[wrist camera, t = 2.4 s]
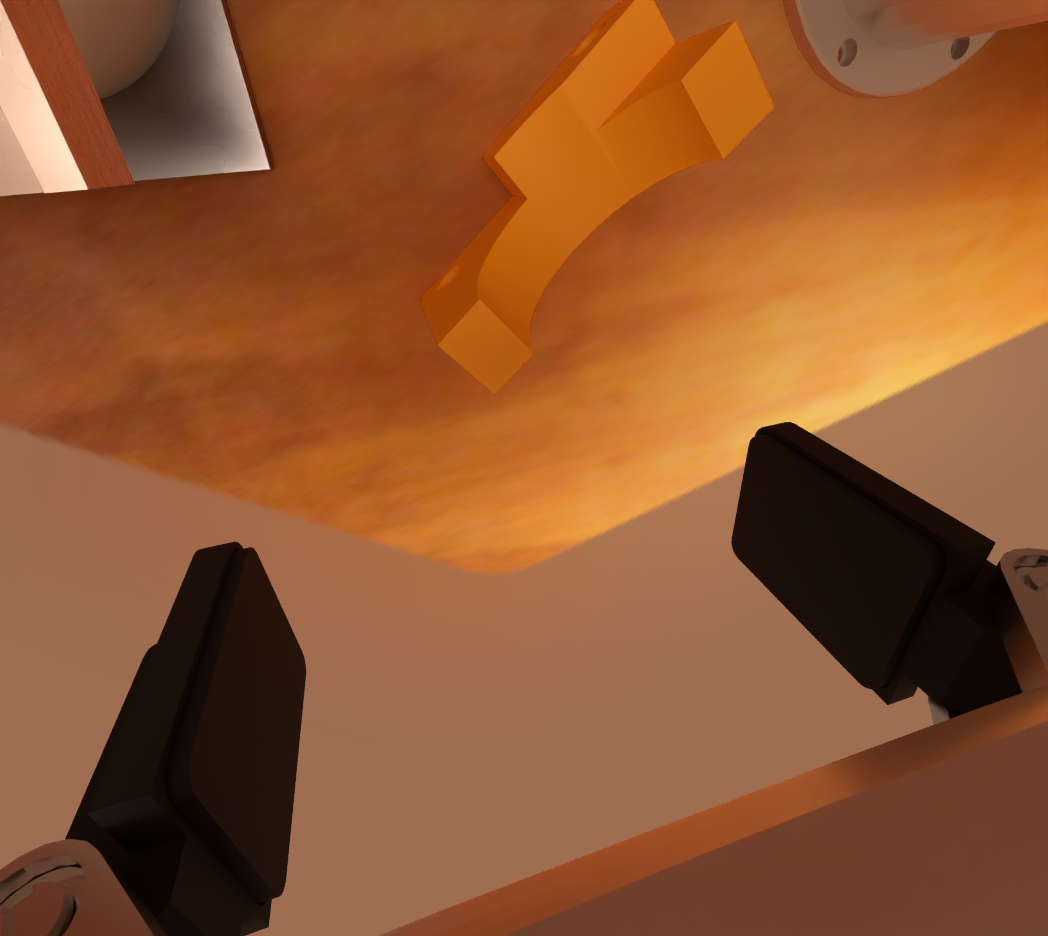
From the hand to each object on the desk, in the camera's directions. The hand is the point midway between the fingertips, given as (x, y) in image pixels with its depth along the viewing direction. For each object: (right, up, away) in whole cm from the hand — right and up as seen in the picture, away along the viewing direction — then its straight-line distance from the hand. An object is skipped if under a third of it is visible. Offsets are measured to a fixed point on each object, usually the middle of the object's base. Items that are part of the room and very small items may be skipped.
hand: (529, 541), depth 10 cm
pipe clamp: (0, +12, +11) cm, 17 cm away
